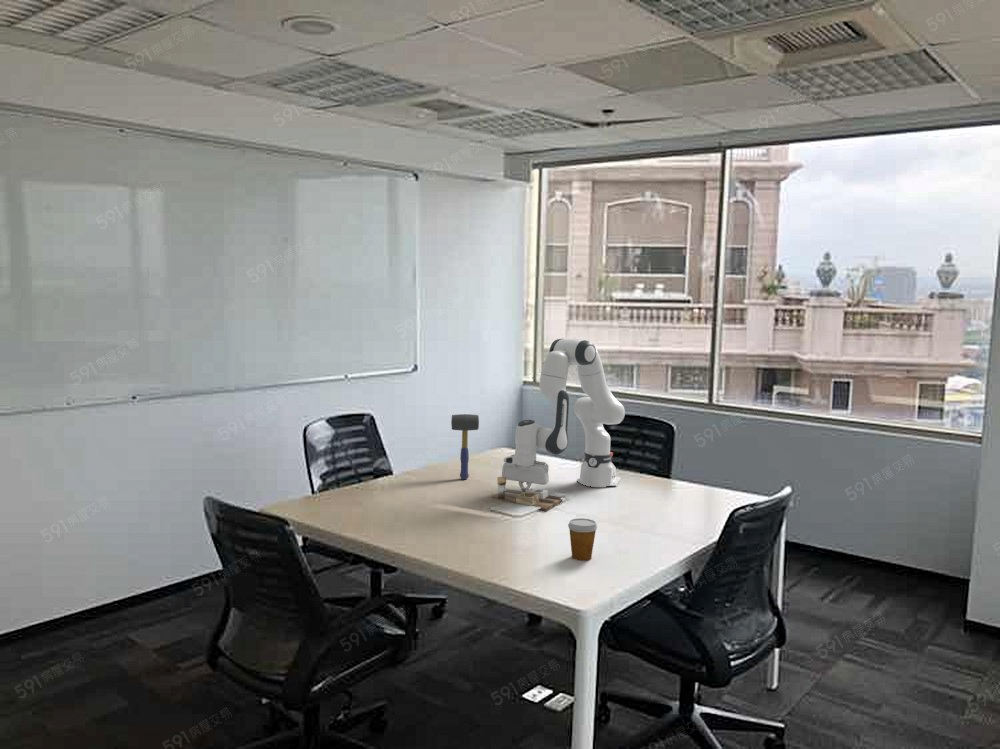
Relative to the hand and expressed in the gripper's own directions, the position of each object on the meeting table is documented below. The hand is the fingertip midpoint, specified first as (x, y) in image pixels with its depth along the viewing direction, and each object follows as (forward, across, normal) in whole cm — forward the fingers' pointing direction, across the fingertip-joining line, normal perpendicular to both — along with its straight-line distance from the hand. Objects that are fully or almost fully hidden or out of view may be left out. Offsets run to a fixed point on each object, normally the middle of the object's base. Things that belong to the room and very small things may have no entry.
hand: (524, 492), depth 332 cm
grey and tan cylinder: (+2, +7, +8) cm, 11 cm away
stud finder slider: (+1, -6, 0) cm, 6 cm away
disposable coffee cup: (+3, -48, +55) cm, 73 cm away
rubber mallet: (+3, +39, -17) cm, 42 cm away
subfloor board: (+3, -2, +4) cm, 6 cm away
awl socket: (+1, -5, +8) cm, 10 cm away
